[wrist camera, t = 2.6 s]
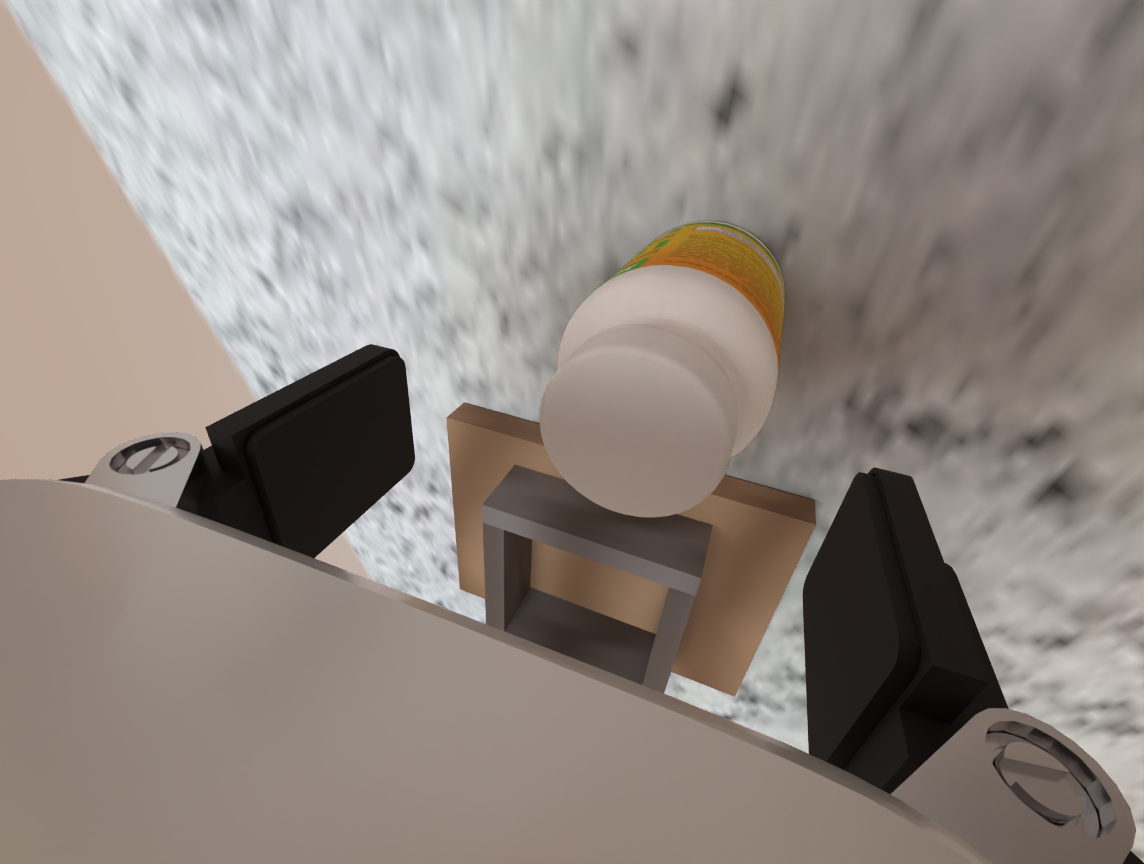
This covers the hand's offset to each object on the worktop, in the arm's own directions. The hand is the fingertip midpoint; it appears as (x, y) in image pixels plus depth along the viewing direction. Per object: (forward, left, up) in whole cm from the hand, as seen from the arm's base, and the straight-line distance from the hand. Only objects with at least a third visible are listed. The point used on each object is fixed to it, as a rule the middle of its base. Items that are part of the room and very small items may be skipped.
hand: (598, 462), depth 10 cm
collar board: (+2, +12, -10) cm, 16 cm away
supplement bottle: (0, -1, -10) cm, 10 cm away
